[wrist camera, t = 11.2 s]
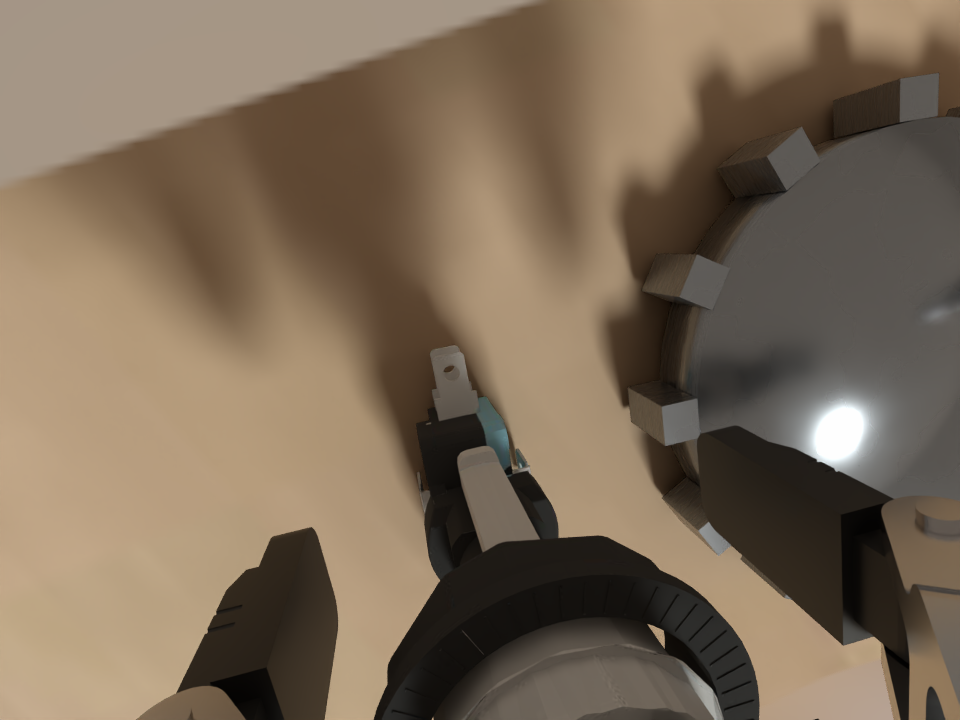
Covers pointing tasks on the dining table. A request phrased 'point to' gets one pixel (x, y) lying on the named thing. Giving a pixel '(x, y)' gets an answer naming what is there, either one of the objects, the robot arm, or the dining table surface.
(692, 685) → the push button
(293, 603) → the robot arm
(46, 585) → the dining table surface
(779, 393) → the sprocket wheel
